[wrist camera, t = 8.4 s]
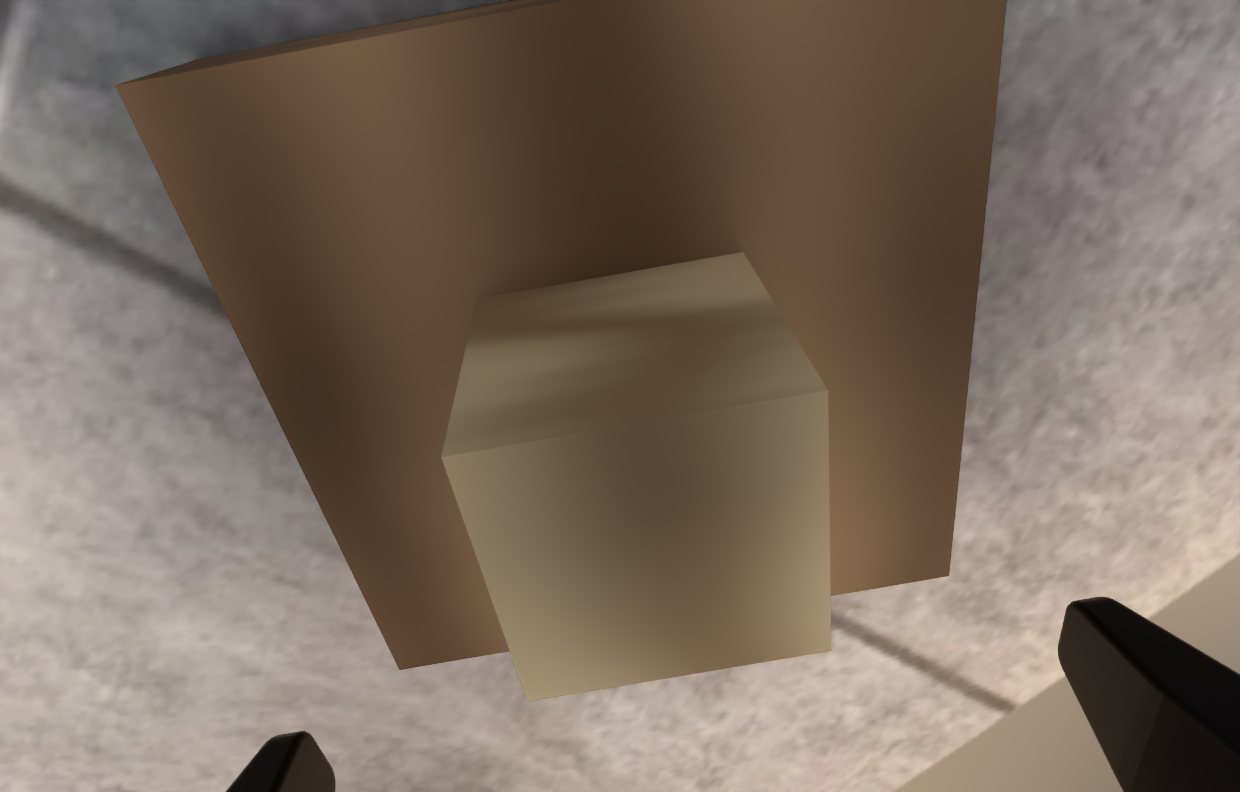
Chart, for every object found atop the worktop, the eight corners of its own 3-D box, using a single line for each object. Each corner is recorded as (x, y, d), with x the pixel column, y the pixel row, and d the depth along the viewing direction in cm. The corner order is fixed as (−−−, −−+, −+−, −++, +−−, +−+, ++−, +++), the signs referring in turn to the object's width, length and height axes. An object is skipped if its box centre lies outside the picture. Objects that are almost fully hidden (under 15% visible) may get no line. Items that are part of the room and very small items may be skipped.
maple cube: (534, 504, 16) (527, 701, 12) (476, 299, 14) (441, 457, 10) (758, 466, 16) (830, 651, 12) (742, 251, 14) (828, 389, 9)
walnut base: (418, 583, 21) (399, 670, 19) (195, 59, 14) (115, 85, 11) (901, 499, 21) (948, 575, 19) (929, -79, 14) (1015, -85, 11)
